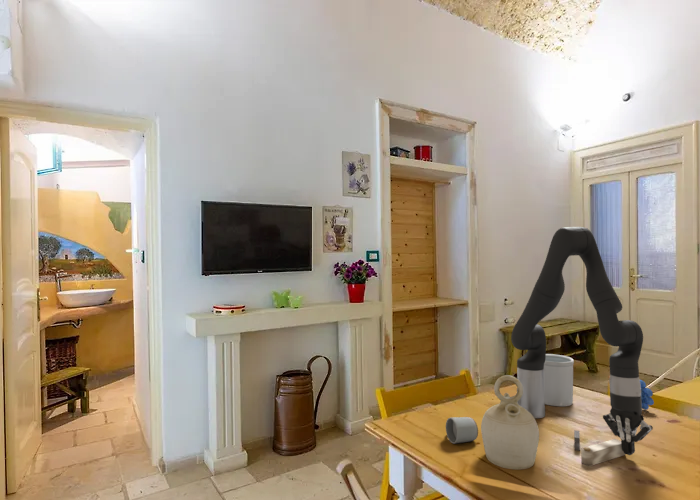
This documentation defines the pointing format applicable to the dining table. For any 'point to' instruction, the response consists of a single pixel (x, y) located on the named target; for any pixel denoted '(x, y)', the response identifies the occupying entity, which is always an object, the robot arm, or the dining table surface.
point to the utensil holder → (558, 380)
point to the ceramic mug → (461, 429)
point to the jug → (509, 430)
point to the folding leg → (601, 452)
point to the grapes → (646, 396)
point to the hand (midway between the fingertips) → (628, 453)
